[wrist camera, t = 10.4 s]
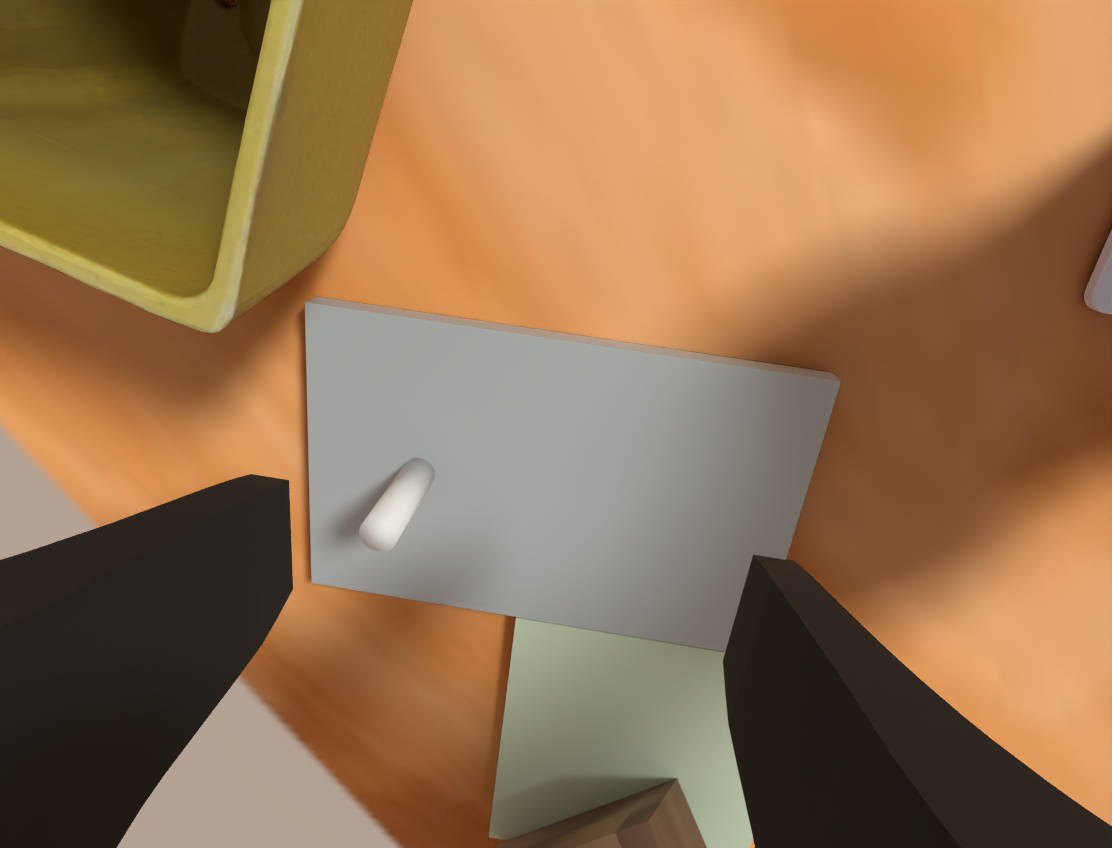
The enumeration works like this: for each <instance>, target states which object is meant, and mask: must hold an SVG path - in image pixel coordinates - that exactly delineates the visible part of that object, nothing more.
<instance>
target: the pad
mask: <svg viewBox="0 0 1112 848" xmlns="http://www.w3.org/2000/svg"><path fill="white" fill-rule="evenodd" d="M724 655H725V652H724V651H718V650H712V649H706V648H700V647H694V646H688V645H682V644H676V643H670V642H664V641H658V640H652V639H646V638H640V637H634V636H628V635H622V634H616V633H610V632H604V631H598V630H592V629H586V628H580V627H574V626H568V625H562V624H556V623H550V622H544V621H538V620H532V619H526V618H520V617H516V621H515V629H514V637H513V645H512V653H511V661H510V669H509V677H508V685H507V693H506V701H505V709H504V717H503V725H502V733H501V741H500V749H499V757H498V765H497V773H496V781H495V789H494V797H493V805H492V813H491V821H490V829H489V837H490V838H495V839H501V840H506V841H507V840H510V839H512V838H515V837H518V836H521V835H523V834H526V833H529V832H531V831H534V830H537V829H540V828H542V827H545V826H548V825H551V824H553V823H556V822H559V821H562V820H564V819H567V818H570V817H572V816H575V815H578V814H581V813H583V812H586V811H589V810H592V809H594V808H597V807H600V806H603V805H605V804H608V803H611V802H613V801H616V800H619V799H622V798H624V797H627V796H630V795H633V794H635V793H638V792H641V791H644V790H646V789H649V788H652V787H654V786H657V785H660V784H663V783H665V782H668V781H671V780H674V779H676V778H677V779H678V782H679V784H680V786H681V789H682V791H683V793H684V795H685V798H686V800H687V802H688V805H689V807H690V809H691V812H692V814H693V816H694V819H695V821H696V823H697V826H698V828H699V830H700V833H701V835H702V837H703V840H704V842H705V844H706V847H707V848H750V845H751V842H752V839H753V835H752V830H751V826H750V821H749V817H748V812H747V808H746V803H745V799H744V794H743V790H742V786H741V781H740V776H739V772H738V767H737V763H736V758H735V753H734V749H733V744H732V739H731V734H730V729H729V725H728V715H727V705H726V695H725V682H724V669H723V658H724Z"/></svg>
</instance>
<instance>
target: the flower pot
mask: <svg viewBox="0 0 1112 848" xmlns="http://www.w3.org/2000/svg"><path fill="white" fill-rule="evenodd" d="M412 3H413V0H238V2H237V4H236V5H235V6H233V7H227V6H225V5H224V4H223V2H222V1H221V0H0V246H2V247H4V248H6V249H9V250H11V251H13V252H16V253H18V254H20V255H23V256H25V257H28V258H30V259H32V260H35V261H37V262H39V263H42V264H44V265H46V266H48V267H51V268H53V269H55V270H57V271H60V272H62V273H64V274H66V275H68V276H70V277H72V278H74V279H76V280H78V281H80V282H82V283H84V284H86V285H89V286H91V287H93V288H96V289H98V290H100V291H103V292H105V293H108V294H110V295H112V296H115V297H117V298H120V299H122V300H124V301H126V302H129V303H131V304H133V305H135V306H137V307H139V308H141V309H144V310H146V311H149V312H151V313H153V314H156V315H158V316H160V317H163V318H165V319H167V320H170V321H173V322H176V323H178V324H181V325H184V326H187V327H190V328H192V329H195V330H198V331H201V332H204V333H209V334H213V333H217V332H219V331H221V330H222V329H224V328H225V327H227V326H228V325H229V324H230V323H232V322H233V321H234V320H235V319H237V318H238V317H240V316H241V315H242V314H244V313H245V312H246V311H248V310H249V309H251V308H252V307H253V306H255V305H256V304H257V303H259V302H260V301H261V300H263V299H264V298H266V297H267V296H268V295H270V294H271V293H273V292H274V291H275V290H277V289H278V288H280V287H281V286H282V285H284V284H285V283H286V282H288V281H289V280H291V279H292V278H293V277H294V276H296V275H297V274H298V273H299V272H301V271H302V270H303V269H305V268H306V267H307V266H309V265H310V264H311V263H313V262H314V261H315V260H316V259H318V258H319V257H320V256H321V255H322V254H323V253H325V252H326V251H327V249H328V248H329V247H330V246H331V245H332V244H333V243H334V242H335V240H336V239H337V238H338V236H339V235H340V233H341V231H342V230H343V228H344V226H345V224H346V222H347V220H348V218H349V216H350V213H351V211H352V208H353V205H354V202H355V200H356V196H357V193H358V190H359V186H360V182H361V179H362V175H363V171H364V168H365V164H366V160H367V157H368V153H369V150H370V146H371V142H372V139H373V135H374V132H375V128H376V125H377V121H378V118H379V114H380V111H381V108H382V104H383V101H384V97H385V94H386V91H387V87H388V84H389V80H390V77H391V74H392V70H393V67H394V63H395V60H396V57H397V53H398V50H399V47H400V43H401V40H402V36H403V33H404V30H405V26H406V23H407V19H408V16H409V13H410V9H411V6H412Z"/></svg>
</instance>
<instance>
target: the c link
mask: <svg viewBox="0 0 1112 848" xmlns="http://www.w3.org/2000/svg"><path fill="white" fill-rule="evenodd" d="M496 848H707V847H706V844H705V842H704V840H703V837H702V835H701V833H700V830H699V828H698V826H697V823H696V821H695V819H694V816H693V814H692V812H691V809H690V807H689V805H688V802H687V800H686V798H685V795H684V793H683V791H682V789H681V786H680V784H679V782H678V779H677V778H676V779H674V780H671V781H668V782H665V783H663V784H660V785H657V786H654V787H652V788H649V789H646V790H644V791H641V792H638V793H635V794H633V795H630V796H627V797H624V798H622V799H619V800H616V801H613V802H611V803H608V804H605V805H603V806H600V807H597V808H594V809H592V810H589V811H586V812H583V813H581V814H578V815H575V816H572V817H570V818H567V819H564V820H562V821H559V822H556V823H553V824H551V825H548V826H545V827H542V828H540V829H537V830H534V831H531V832H529V833H526V834H523V835H521V836H518V837H515V838H512V839H510V840H507V841H504V842H501V843H500V844H499V845H498V846H497V847H496Z"/></svg>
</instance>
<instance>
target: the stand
mask: <svg viewBox="0 0 1112 848" xmlns="http://www.w3.org/2000/svg"><path fill="white" fill-rule="evenodd" d="M305 334H306V376H307V418H308V460H309V502H310V543H311V583H315V584H321V585H327V586H333V587H339V588H345V589H351V590H357V591H363V592H369V593H375V594H381V595H387V596H393V597H399V598H405V599H411V600H417V601H423V602H429V603H435V604H441V605H447V606H453V607H459V608H465V609H471V610H477V611H483V612H489V613H495V614H502V615H508V616H514V617H520V618H526V619H532V620H538V621H544V622H550V623H556V624H562V625H568V626H574V627H580V628H586V629H592V630H598V631H604V632H610V633H616V634H622V635H628V636H634V637H640V638H646V639H652V640H658V641H664V642H670V643H676V644H682V645H688V646H694V647H700V648H706V649H712V650H718V651H724V652H725V651H726V648H727V644H728V641H729V637H730V634H731V630H732V627H733V623H734V620H735V616H736V613H737V609H738V606H739V602H740V599H741V595H742V592H743V588H744V585H745V581H746V578H747V574H748V571H749V567H750V564H751V560H752V557H753V555H759V556H766V557H772V558H778V559H784V560H786V558H787V555H788V552H789V549H790V545H791V542H792V539H793V536H794V532H795V529H796V526H797V523H798V520H799V516H800V513H801V510H802V507H803V503H804V500H805V497H806V494H807V491H808V487H809V484H810V481H811V478H812V474H813V471H814V468H815V465H816V462H817V458H818V455H819V452H820V449H821V445H822V442H823V439H824V436H825V433H826V429H827V426H828V423H829V420H830V416H831V413H832V410H833V407H834V404H835V400H836V397H837V394H838V391H839V387H840V384H841V381H840V380H839V379H838V378H837V377H836V376H835V375H834V373H832V372H825V371H818V370H812V369H805V368H798V367H791V366H784V365H778V364H771V363H764V362H757V361H750V360H744V359H737V358H730V357H723V356H716V355H710V354H703V353H696V352H689V351H682V350H676V349H669V348H662V347H655V346H649V345H642V344H635V343H628V342H621V341H615V340H608V339H601V338H594V337H587V336H581V335H574V334H567V333H560V332H553V331H547V330H540V329H533V328H526V327H519V326H513V325H506V324H499V323H492V322H486V321H479V320H472V319H465V318H458V317H452V316H445V315H438V314H431V313H424V312H418V311H411V310H404V309H397V308H390V307H384V306H377V305H370V304H363V303H356V302H350V301H343V300H336V299H329V298H322V297H315V298H313V299H311V300H308V301H306V302H305Z"/></svg>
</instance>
